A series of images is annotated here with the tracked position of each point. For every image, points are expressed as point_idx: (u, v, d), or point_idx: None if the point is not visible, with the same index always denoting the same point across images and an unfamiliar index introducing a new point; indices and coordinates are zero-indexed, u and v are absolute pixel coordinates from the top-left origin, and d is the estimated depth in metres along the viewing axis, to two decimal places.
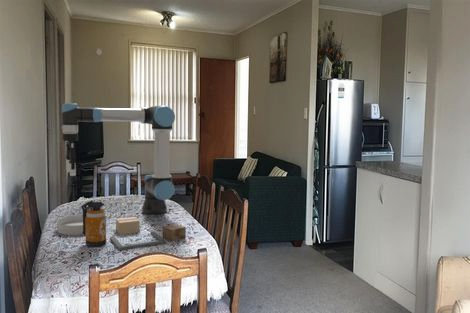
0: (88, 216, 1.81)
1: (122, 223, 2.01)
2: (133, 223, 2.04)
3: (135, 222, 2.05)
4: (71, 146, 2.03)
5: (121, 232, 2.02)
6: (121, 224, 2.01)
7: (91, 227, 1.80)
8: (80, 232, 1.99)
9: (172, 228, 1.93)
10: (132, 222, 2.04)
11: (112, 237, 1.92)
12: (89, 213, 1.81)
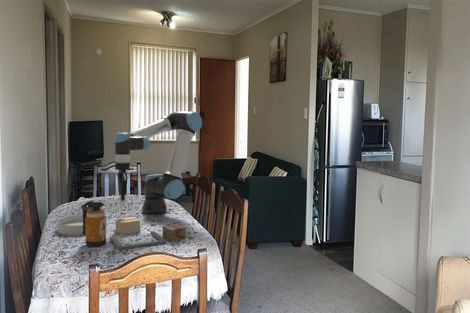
0: (88, 216, 1.81)
1: (123, 223, 2.01)
2: (134, 223, 2.05)
3: (136, 222, 2.05)
4: (124, 179, 2.08)
5: (122, 232, 2.01)
6: (122, 224, 2.01)
7: (91, 227, 1.80)
8: (80, 232, 1.99)
9: (172, 228, 1.93)
10: (133, 222, 2.04)
11: (112, 237, 1.92)
12: (89, 213, 1.81)
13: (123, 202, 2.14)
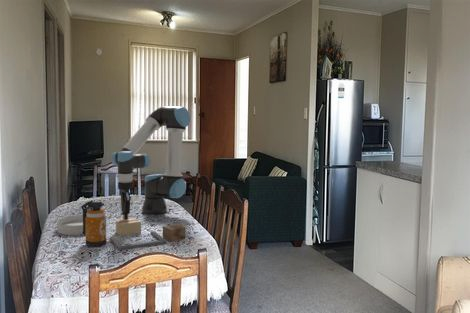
0: (88, 216, 1.81)
1: (124, 225, 1.99)
2: (135, 224, 2.02)
3: (137, 223, 2.03)
4: (127, 200, 2.03)
5: (123, 234, 1.99)
6: (123, 226, 1.98)
7: (91, 227, 1.80)
8: (80, 232, 1.99)
9: (172, 228, 1.93)
10: (134, 223, 2.02)
11: (112, 237, 1.92)
12: (89, 213, 1.81)
13: None
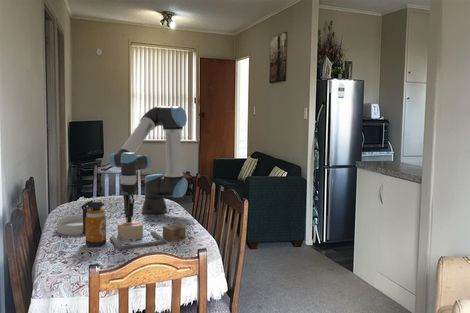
0: (88, 216, 1.81)
1: (125, 228, 1.93)
2: (137, 228, 1.96)
3: (139, 227, 1.96)
4: (130, 202, 1.97)
5: (124, 237, 1.93)
6: (124, 229, 1.92)
7: (91, 227, 1.80)
8: (80, 232, 1.99)
9: (171, 228, 1.93)
10: (135, 227, 1.95)
11: (112, 237, 1.92)
12: (89, 213, 1.81)
13: None
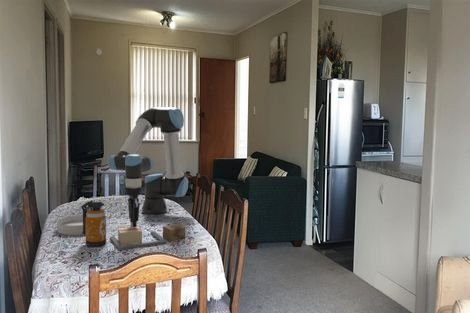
0: (88, 216, 1.81)
1: (123, 233, 1.85)
2: (135, 234, 1.87)
3: (138, 232, 1.87)
4: (135, 206, 1.90)
5: (121, 243, 1.85)
6: (121, 234, 1.84)
7: (91, 227, 1.80)
8: (80, 232, 1.99)
9: (171, 228, 1.93)
10: (134, 232, 1.86)
11: (112, 237, 1.92)
12: (89, 213, 1.81)
13: None
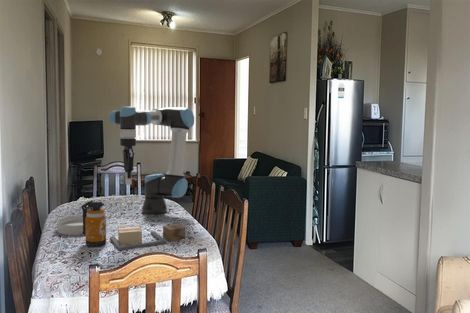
0: (88, 216, 1.81)
1: (122, 233, 1.85)
2: (135, 234, 1.87)
3: (137, 232, 1.87)
4: (130, 156, 1.97)
5: (121, 243, 1.85)
6: (121, 234, 1.84)
7: (91, 227, 1.80)
8: (80, 232, 1.99)
9: (171, 228, 1.93)
10: (134, 232, 1.86)
11: (112, 237, 1.92)
12: (89, 213, 1.81)
13: (129, 180, 2.03)
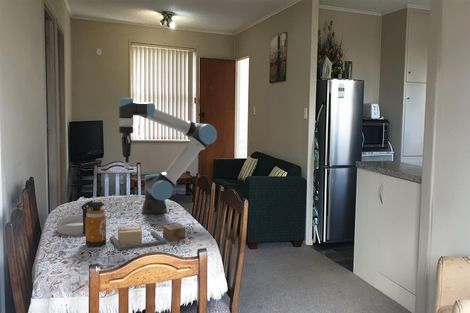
0: (88, 216, 1.81)
1: (122, 233, 1.85)
2: (135, 234, 1.87)
3: (137, 232, 1.87)
4: (128, 142, 2.19)
5: (121, 243, 1.85)
6: (121, 234, 1.84)
7: (91, 227, 1.80)
8: (80, 232, 1.99)
9: (171, 228, 1.93)
10: (134, 232, 1.86)
11: (112, 237, 1.92)
12: (89, 213, 1.81)
13: (127, 164, 2.25)
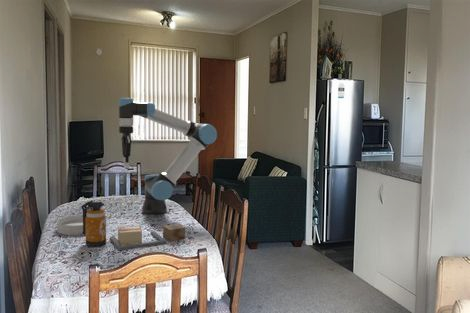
0: (88, 216, 1.81)
1: (122, 233, 1.85)
2: (135, 234, 1.87)
3: (137, 232, 1.87)
4: (128, 142, 2.19)
5: (121, 243, 1.85)
6: (121, 234, 1.84)
7: (91, 227, 1.80)
8: (80, 232, 1.99)
9: (171, 228, 1.93)
10: (134, 232, 1.86)
11: (112, 237, 1.92)
12: (89, 213, 1.81)
13: (127, 164, 2.25)
